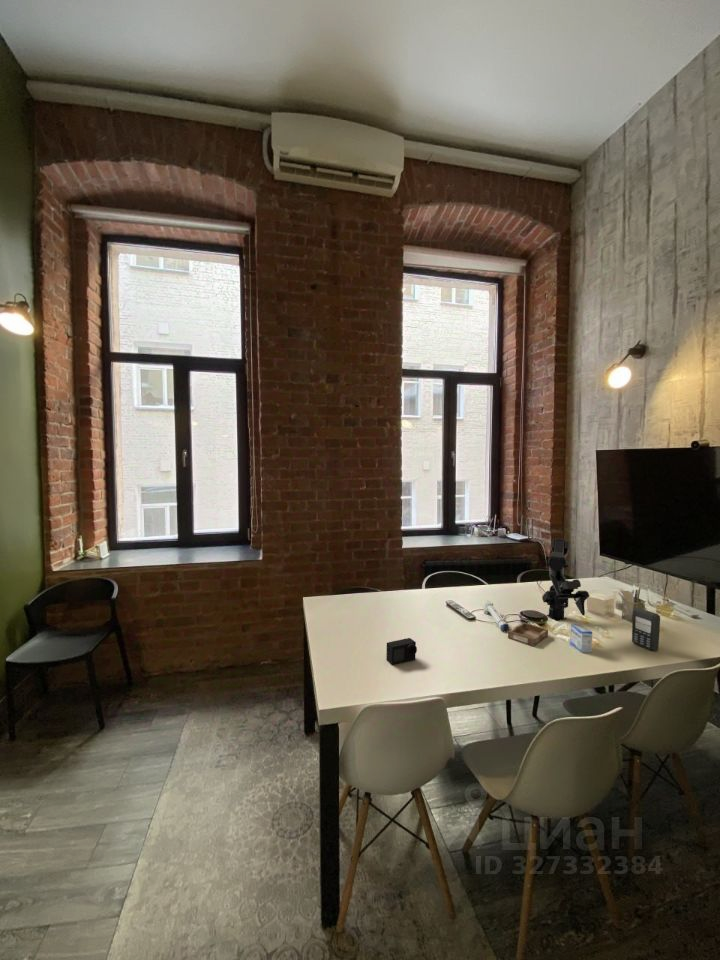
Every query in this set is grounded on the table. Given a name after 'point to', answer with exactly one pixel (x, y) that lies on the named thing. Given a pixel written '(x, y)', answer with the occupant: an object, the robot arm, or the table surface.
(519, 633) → the tray
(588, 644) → the medicine box
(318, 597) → the table surface
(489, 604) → the white stick
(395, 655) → the digital camera
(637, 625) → the card reader
